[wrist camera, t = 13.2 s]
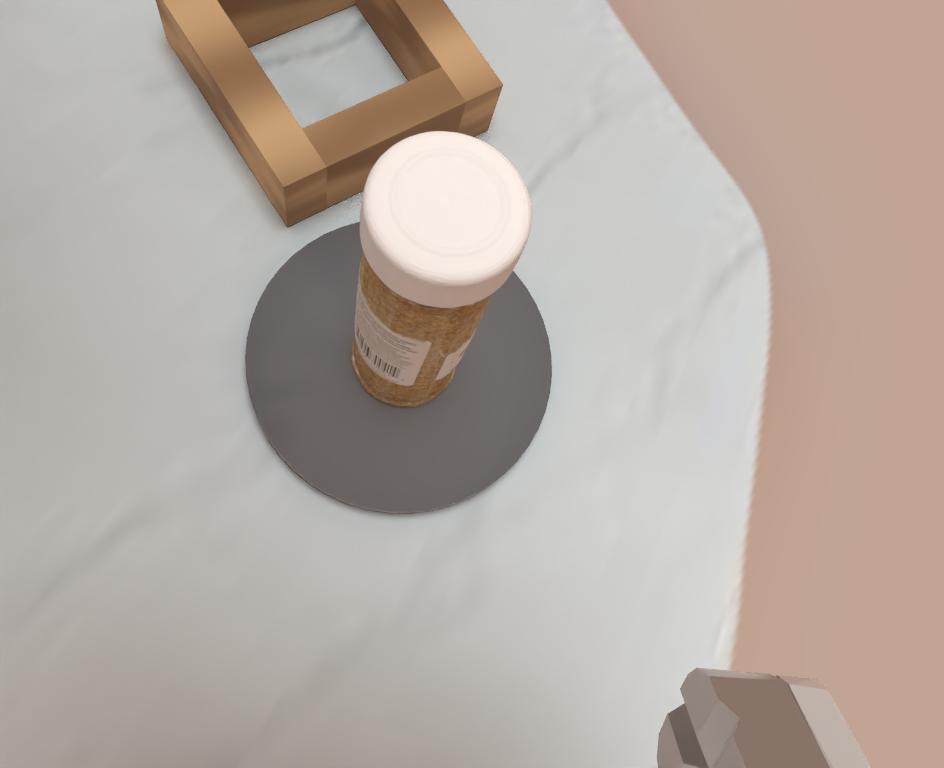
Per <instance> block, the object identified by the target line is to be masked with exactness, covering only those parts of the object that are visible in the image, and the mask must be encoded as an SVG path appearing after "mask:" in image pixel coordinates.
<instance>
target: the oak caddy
mask: <svg viewBox="0 0 944 768" xmlns="http://www.w3.org/2000/svg"><path fill="white" fill-rule="evenodd" d="M156 3H157V6H158V10H159V14H160V17H161V21H162V24H163V28H164V31H165V35H166V38H167V40H168V42H169V43H170V45H171V46H172V48H173V49H174V51H175V52H176V54H177V56H178V57H179V59H180V60H181V62H182V63H183V65H184V66H185V68H186V70H187V71H188V73H189V74H190V76H191V77H192V79H193V80H194V82H195V84H196V85H197V87H198V88H199V90H200V91H201V93H202V95H203V96H204V98H205V99H206V101H207V102H208V104H209V105H210V107H211V109H212V110H213V112H214V113H215V115H216V116H217V118H218V119H219V121H220V123H221V124H222V126H223V127H224V129H225V130H226V132H227V134H228V135H229V137H230V138H231V140H232V141H233V143H234V144H235V146H236V148H237V149H238V151H239V152H240V154H241V155H242V157H243V158H244V160H245V162H246V163H247V165H248V166H249V168H250V169H251V171H252V172H253V174H254V176H255V177H256V179H257V180H258V182H259V183H260V185H261V187H262V188H263V190H264V191H265V193H266V194H267V196H268V197H269V199H270V201H271V202H272V204H273V205H274V207H275V208H276V210H277V211H278V213H279V215H280V216H281V218H282V219H283V221H284V222H285V224H286V226H287V227H289V226H291V225H293V224H295V223H298V222H300V221H302V220H304V219H306V218H308V217H310V216H312V215H314V214H316V213H318V212H320V211H322V210H324V209H326V208H328V207H331V206H333V205H335V204H337V203H339V202H341V201H343V200H345V199H347V198H349V197H351V196H353V195H355V194H357V193H359V192H361V191H363V190H364V187H365V184H366V181H367V178H368V175H369V173H370V171H371V169H372V167H373V166H374V165H375V163H376V162H377V160H378V159H379V158H380V156H381V155H382V154H384V153H385V152H386V151H387V150H388V149H389V148H391V147H392V146H393V145H395V144H396V143H398V142H400V141H401V140H403V139H406V138H408V137H410V136H414V135H417V134H420V133H425V132H432V131H447V132H456V133H461V134H465V135H468V136H472V137H475V136H477V135H479V134H481V133H483V132H485V131H487V130H488V127H489V124H490V122H491V119H492V116H493V113H494V110H495V107H496V104H497V101H498V98H499V95H500V92H501V89H502V86H503V84H502V82H501V81H500V80H499V78H498V77H497V75H496V74H495V73H494V71H493V70H492V68H491V67H490V66H489V64H488V63H487V61H486V60H485V59H484V57H483V56H482V54H481V53H480V51H479V50H478V49H477V47H476V46H475V44H474V43H473V42H472V40H471V39H470V37H469V36H468V35H467V33H466V32H465V30H464V29H463V28H462V26H461V25H460V23H459V22H458V20H457V19H456V18H455V16H454V15H453V13H452V12H451V11H450V9H449V8H448V6H447V5H446V4H445V2H444V1H443V0H156ZM355 4H356V5H357V7H358V8H359V10H360V11H361V13H362V14H363V16H364V17H365V19H366V20H367V21H368V23H369V24H370V26H371V27H372V29H373V30H374V32H375V33H376V35H377V36H378V37H379V39H380V40H381V42H382V43H383V45H384V46H385V48H386V49H387V50H388V52H389V53H390V55H391V56H392V58H393V59H394V61H395V62H396V64H397V65H398V66H399V68H400V69H401V71H402V72H403V74H404V75H405V77H406V78H407V80H408V82H406V83H404V84H402V85H399V86H397V87H395V88H393V89H390V90H388V91H386V92H384V93H381V94H379V95H377V96H375V97H373V98H370V99H368V100H366V101H364V102H361V103H359V104H357V105H355V106H352V107H350V108H348V109H346V110H343V111H341V112H339V113H337V114H334V115H332V116H330V117H328V118H325V119H323V120H321V121H319V122H316V123H314V124H312V125H310V126H307V127H305V128H303V129H301V127H300V126H299V124H298V122H297V121H296V119H295V118H294V116H293V115H292V113H291V112H290V110H289V109H288V107H287V106H286V104H285V103H284V101H283V100H282V98H281V97H280V95H279V94H278V92H277V91H276V89H275V88H274V86H273V85H272V83H271V81H270V80H269V78H268V77H267V75H266V74H265V72H264V71H263V69H262V68H261V66H260V65H259V63H258V62H257V60H256V59H255V57H254V56H253V54H252V53H251V51H250V50H249V48H248V47H250V46H253V45H255V44H258V43H260V42H263V41H265V40H268V39H270V38H273V37H275V36H278V35H280V34H283V33H285V32H288V31H290V30H293V29H295V28H298V27H300V26H303V25H305V24H308V23H310V22H313V21H315V20H318V19H320V18H323V17H325V16H328V15H330V14H333V13H335V12H338V11H340V10H343V9H345V8H348V7H350V6H353V5H355Z"/></svg>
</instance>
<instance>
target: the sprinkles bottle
mask: <svg viewBox="0 0 944 768" xmlns="http://www.w3.org/2000/svg"><path fill="white" fill-rule="evenodd" d="M531 221H532V211H531V202H530V197H529V194H528V191H527V188H526V186H525V184H524V182H523V179H522V177H521V176H520V174H519V173H518V171H517V170H516V168H515V167H514V166H513V165H512V163H511V162H510V161H509V160H508V159H507V158H506V157H505V156H504V155H503V154H501V153H500V152H499V151H498V150H496V149H495V148H494V147H492V146H491V145H489V144H487V143H486V142H483V141H481V140H479V139H477V138H474V137H472V136H468V135H465V134H461V133H456V132H447V131H432V132H425V133H420V134H417V135H414V136H410V137H408V138H406V139H403V140H401V141H400V142H398V143H396V144H395V145H393V146H392V147H391V148H389V149H388V150H387V151H386V152H385V153H384V154H382V155H381V156H380V158H379V159H378V160H377V162H376V163H375V165H374V166H373V167H372V169H371V171H370V173H369V175H368V178H367V181H366V184H365V187H364V191H363V197H362V205H361V212H360V240H361V245H362V248H363V257H362V260H361V263H360V268H359V278H358V288H357V300H356V312H355V337H354V338H353V341H352V347H351V361H352V367H353V370H354V372H355V373H356V377H357V379H358V380H359V381H360V383H361V384H362V386H363V388H364V389H365V390H366V391H367V392H368V393H370V394H371V395H373V396H374V397H375V398H376V399H378V400H380V401H382V402H385V403H388V404H391V405H395V406H399V407H400V406H406V407H408V406H413V407H414V406H419V405H422V404H425V403H427V402H429V401H431V400H433V399H435V398H436V397H437V396H438V395H439V394H441V393H442V392H443V391H444V390H445V389H446V388H447V387H448V385H449V384H450V382H451V381H452V379H453V376H454V373H455V371H456V367H457V365H458V363H459V362H460V360H461V358H462V356H463V354H464V352H465V351H466V349H467V347H468V345H469V343H470V341H471V339H472V337H473V335H474V333H475V330H476V328H477V326H478V323H479V322H480V320H481V318H482V315H483V313H484V310H485V308H486V306H487V304H488V303H489V300H490V298H491V296H492V294H493V293H494V292H495V291H496V290H497V289H499V288H500V287H501V286H502V285H503V284H504V283H505V281H506V280H507V279H508V277H509V276H510V274H511V273H512V271H513V269H514V267H515V265H516V264H517V262H518V260H519V258H520V256H521V254H522V251H523V249H524V247H525V245H526V242H527V240H528V237H529V233H530V229H531Z"/></svg>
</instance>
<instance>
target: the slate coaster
mask: <svg viewBox="0 0 944 768" xmlns="http://www.w3.org/2000/svg"><path fill="white" fill-rule="evenodd" d="M362 257H363V248H362V245H361V240H360V222H358V223H355V224H351V225H347V226H344V227H341V228H339V229H336V230H334V231H331V232H329V233H327V234H324V235H323V236H321V237H319V238H317V239H316V240H314V241H312V242H311V243H309V244H307V245H306V246H305V247H303V248H302V249H301V250H300V251H298V252H297V253H296V254H294V255H293V256H292V257H291V258H290V259H289V260H288V261H287V262H286V263H285V264H284V265H283V266H282V267H281V268H280V269H279V270H278V272H277V273H276V274H275V276H274V277H273V278H272V280H271V281H270V282H269V284H268V285H267V287H266V289H265V291H264V292H263V294H262V296H261V298H260V299H259V301H258V304H257V306H256V309H255V312H254V314H253V317H252V319H251V324H250V328H249V332H248V337H247V346H246V357H245V359H246V377H247V382H248V387H249V392H250V397H251V400H252V403H253V406H254V409H255V412H256V414H257V417H258V420H259V423H260V425H261V426H262V428H263V430H264V432H265V434H266V436H267V438H268V440H269V441H270V443H271V444H272V446H273V447H274V449H275V450H276V451H277V453H278V454H279V456H280V457H281V458H282V459H283V460H284V461H285V462H286V463H287V464H288V465H289V467H290V468H291V469H292V470H293V471H294V472H295V473H296V474H298V475H299V476H300V477H301V478H303V479H304V480H305V481H306V482H308V483H309V484H310V485H312V486H313V487H315V488H316V489H318V490H320V491H321V492H323V493H325V494H326V495H328V496H330V497H332V498H335V499H337V500H339V501H341V502H344V503H346V504H349V505H352V506H355V507H359V508H362V509H366V510H371V511H377V512H384V513H407V514H408V513H417V512H426V511H431V510H435V509H439V508H443V507H448V506H450V505H453V504H455V503H458V502H460V501H463V500H465V499H467V498H469V497H471V496H473V495H474V494H476V493H478V492H480V491H482V490H483V489H485V488H486V487H487V486H489V485H490V484H491V483H493V482H494V481H495V480H497V479H498V478H499V477H501V476H502V475H503V474H504V473H505V472H506V471H507V470H508V469H509V468H510V467H511V466H512V465H513V464H514V463H516V462H517V461H518V459H519V458H520V457H521V455H522V454H523V453H524V451H525V450H526V449H527V447H528V446H529V445H530V443H531V441H532V439H533V437H534V436H535V434H536V432H537V430H538V429H539V426H540V423H541V421H542V418H543V416H544V413H545V411H546V406H547V402H548V398H549V394H550V386H551V377H552V366H551V352H550V345H549V339H548V335H547V332H546V329H545V325H544V322H543V319H542V317H541V314H540V312H539V310H538V308H537V305H536V303H535V301H534V300H533V298H532V296H531V295H530V293H529V291H528V290H527V288H526V287H525V285H524V284H523V283H522V281H521V280H520V279H519V278H518V276H517V275H516V274H515V273H514V272H513V271H512V273H511V274H510V276H509V277H508V279H507V280H506V281H505V283H504V284H503V285H502V286H501V287H500V288H499V289H497V290H496V291H495V292H494V293H493V294H492V296H491V298H490V300H489V303H488V304H487V306H486V308H485V310H484V313H483V315H482V318H481V320H480V322H479V323H478V326H477V328H476V330H475V333H474V335H473V337H472V339H471V341H470V343H469V345H468V347H467V349H466V351H465V352H464V354H463V356H462V358H461V360H460V362H459V363H458V365H457V367H456V371H455V373H454V376H453V379H452V381H451V382H450V384H449V385H448V387H447V388H446V389H445V390H444V391H443V392H442V393H441V394H439V395H438V396H437V397H436V398H435V399H433V400H431V401H429V402H427V403H425V404H422V405H419V406H414V407H413V406H408V407H406V406H400V407H399V406H395V405H391V404H388V403H385V402H382V401H380V400H378V399H376V398H375V397H374V396H373V395H371V394H370V393H368V392H367V391H366V390H365V389H364V388H363V386H362V384H361V383H360V381H359V380H358V379H357V377H356V373H355V372H354V370H353V367H352V361H351V347H352V341H353V338H354V337H355V312H356V300H357V288H358V278H359V268H360V263H361V260H362Z"/></svg>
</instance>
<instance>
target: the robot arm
mask: <svg viewBox="0 0 944 768" xmlns="http://www.w3.org/2000/svg"><path fill="white" fill-rule="evenodd" d="M680 690H681V693H682V696H683V699H684V702H685V703H684V704H683V705H681V706H680V707H678V708H676V709H675V710H673V711H672V712H670V713H668V714H667V717H666V719H665V721H664V723H663V726H662V728H661V730H660V733H659V740H658V751H657V761H658V768H871V766H870V764H869V762H868V760H867V759H866V757H865V755H864V753H863V752H862V750H861V748H860V746H859V745H858V743H857V741H856V739H855V738H854V736H853V734H852V732H851V730H850V728H849V727H848V725H847V723H846V721H845V720H844V718H843V716H842V714H841V712H840V711H839V709H838V707H837V705H836V703H835V702H834V700H833V698H832V697H831V695H830V693H829V691H828V690H827V688H826V687H825V686H824V685H823V684H821V683H820V682H819V681H818V680H817V679H810V678H798V677H788V676H778V675H777V676H772V675H770V674H760V673H750V672H738V671H727V670H716V669H704V668H696V669H694V670H693V671H692V672H690V673H689V674H688V675H687V677H686V678H685V680H684V682H683V684H682V686H681V688H680Z"/></svg>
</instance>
